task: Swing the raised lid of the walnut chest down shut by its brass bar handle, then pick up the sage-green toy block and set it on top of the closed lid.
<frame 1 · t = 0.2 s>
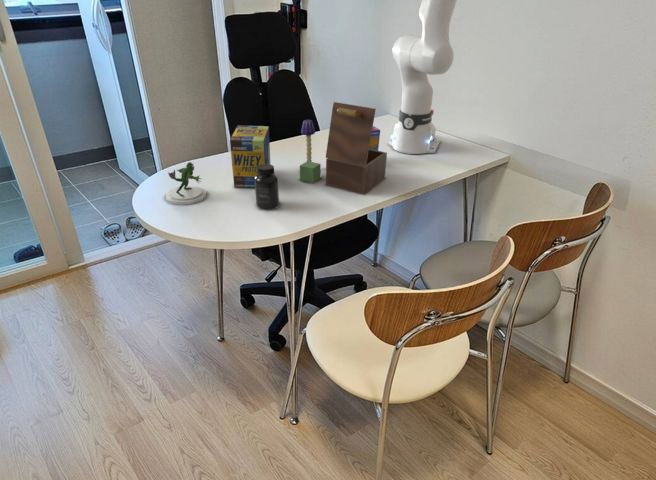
chest lid: (346, 134, 147), point 18 cm above the table, hinge at 75.0°
ink cartridge box: (362, 163, 178), on the table
green toy block: (310, 179, 164), on the table
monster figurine: (186, 196, 152), on the table
chest: (355, 181, 163), on the table
protein box: (253, 179, 164), on the table
supplement bottle: (267, 205, 147), on the table
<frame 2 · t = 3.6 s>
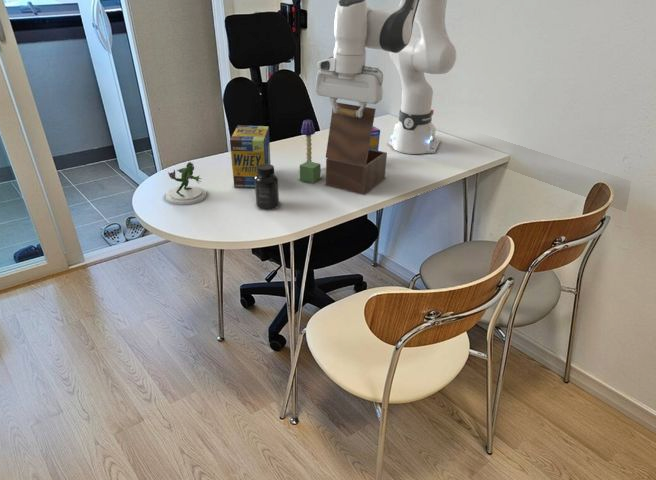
hand: (347, 115, 144), 23 cm above the table, tool pointing down, fingers closed on chest lid, 6 cm apart
chest lid: (346, 134, 147), point 18 cm above the table, hinge at 75.0°, touching gripper
everything else where it was.
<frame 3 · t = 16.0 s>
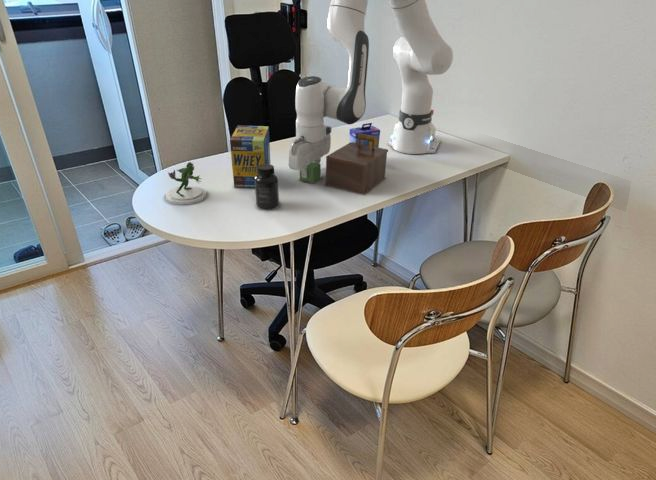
hand: (310, 174, 163), 2 cm above the table, tool pointing down, fingers closed on green toy block, 5 cm apart
chest lid: (358, 147, 157), point 11 cm above the table, hinge at -0.2°
green toy block: (310, 179, 164), on the table, touching gripper
everything else where it was.
when the fingers open (11 cm above the table, at t = 23.6 s): green toy block stays where it is, resting on chest lid.
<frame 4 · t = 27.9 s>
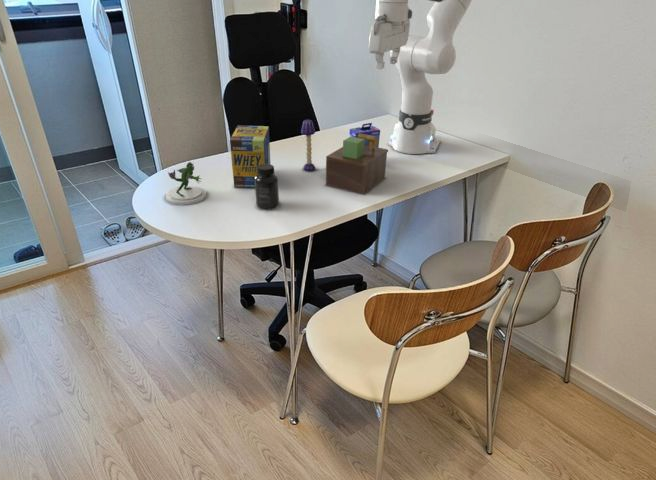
hand: (387, 66, 146), 35 cm above the table, tool pointing down, fingers open, 8 cm apart
chest lid: (358, 147, 157), point 11 cm above the table, hinge at -0.2°, touching chest, green toy block
green toy block: (353, 155, 156), point 10 cm above the table, touching chest lid
everything else where it was.
at the end: chest lid at +0° (first picture: +75°); green toy block inside the target area on the chest (0.9 cm from its centre), point 9.7 cm above the chest's base; green toy block tilted 0° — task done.
